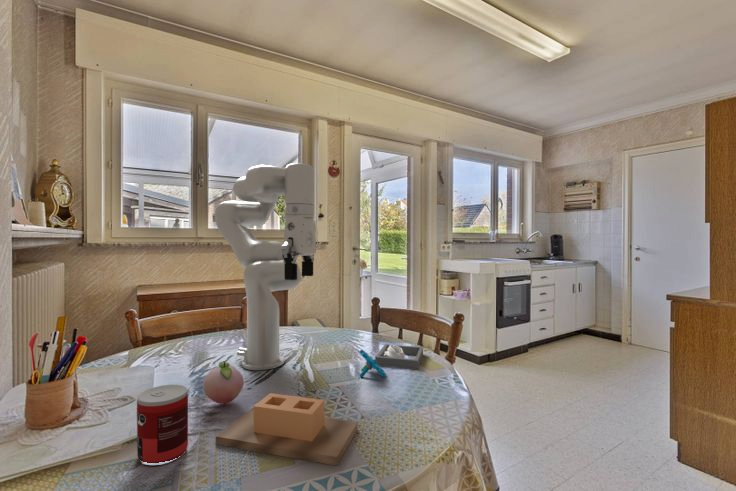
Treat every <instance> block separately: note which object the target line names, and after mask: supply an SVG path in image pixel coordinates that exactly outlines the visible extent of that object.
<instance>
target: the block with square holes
mask: <svg viewBox="0 0 736 491" xmlns="http://www.w3.org/2000/svg"><path fill="white" fill-rule="evenodd" d="M253 407H254V432H256V433H262V434H269V435H275V436H281V437H287V438H293V439H299V440H305V441H313V439H314V438H315V437H316V435H317V434H318V433H319V431H320V430H321V429H322V428H323V426H324V417H325V400H324V399H320V398H319V399H317V398H311V397H303V396H298V395H297V396H295V395H287V394H279V393H273V392H270V393H268V394H267V395H266V396H265V397H264V398H262V399H261V400H259V401H258V402H257V403H256V404H255V405H253Z"/></svg>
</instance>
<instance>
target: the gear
mask: <svg viewBox="0 0 736 491" xmlns="http://www.w3.org/2000/svg"><path fill="white" fill-rule="evenodd" d="M359 353H360V355H361V356H362V357H363V359H365V365H363V367H362V368H361V369H360V371H361V372H360V374H359V377H361V378H363V377H364V376H365V375H366V374H367V373H368V372H369V370H370V371H371V370H373V369H374V370H376V372H377V374H379V375H380V376H382V377H383V378H386V376H387V373H386V372H385V371H384V369H382V367H381V366H380V365H378V364H377V363H376V362H377V361H376V360H375V358H373V357H372V356H371V355H369V353H367V352H366V351H365V350H364V349H360V350H359Z"/></svg>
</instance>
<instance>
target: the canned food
mask: <svg viewBox="0 0 736 491" xmlns="http://www.w3.org/2000/svg"><path fill="white" fill-rule="evenodd" d="M188 392H189V391H188V388H187V387H186V386H185V385H182V384H181V385H180V384H166V385H165V384H164V385H163V384H162V385H158V386H154V387H152V388H148V389H146V390H144V391H142V392H141V393H140V394H138V396H137V399H136V437H137V438H136V439H137V441H136V442H137V443H136V444H137V445H136V448H137V449H136V450H137V451H136V452H137V453H136V454H137V455H136V456H137V459H138V458H139V459H140V460H141V461H143V462H147V463H159V462H165V461H170V460H173V459H175V458H178V457H179V456H181V455H182V454H183V453H184V452H185V451H186V452H187V448H188V445H189V394H188ZM186 452H185V453H186ZM185 453H184V454H185ZM184 454H183V455H184ZM183 455H182V456H183ZM182 456H181V457H182ZM139 459H138V460H139ZM178 459H179V458H178Z"/></svg>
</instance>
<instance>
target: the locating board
mask: <svg viewBox="0 0 736 491" xmlns="http://www.w3.org/2000/svg"><path fill="white" fill-rule="evenodd" d="M358 426H359V423H358V421H352V420H344V419H337V418H330V417H325V416H324V426H323V428H322V429H321V430H320V431H319V433H318V434H317V435H316V437H315V438H314V439H313V441H305V440H299V439H293V438H287V437H281V436H275V435H269V434H262V433H256V432H254V406H253V407H251V408H249V409H248V410H247V411H246V412H245V413H243V414H242V415H241V416H239V418H237V419H236V420H234V421H233V422H232V423H231V424H229V426H227V427H226V428H225V429H223V430H222V431H221V432H219V433H218V434H217V435H216V436H215V445H217V444H221V445H220V446H222V445H226V446H225V447H228V446H230V447H229V448H233V449H234V448H235V449H240V450H241V449H242V450H245V451H250V452H251V451H252V452H258V453H263V454H268V455H274V456H279V457H285V458H291V459H297V460H301V459H302V460H303V461H308V462H315V463H318V462H319V464H325V465H331V466H336V467H338V465H339V463H340V461H341V460H342V457H343V456H344V454H345V453H346V451H347V450H348V447H349V445H350V444H351V442H352V440H353V439H354V437H355V435H356V433H357V431H358V428H359V427H358Z"/></svg>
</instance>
